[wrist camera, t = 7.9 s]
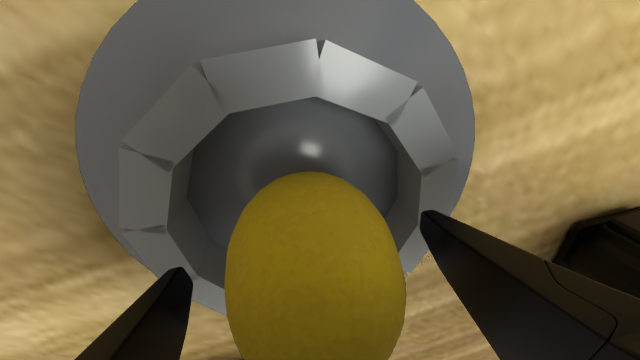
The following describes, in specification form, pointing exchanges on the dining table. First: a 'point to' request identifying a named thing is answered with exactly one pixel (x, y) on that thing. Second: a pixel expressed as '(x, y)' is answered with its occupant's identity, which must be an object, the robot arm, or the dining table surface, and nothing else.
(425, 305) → the dining table surface
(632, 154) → the dining table surface
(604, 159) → the dining table surface
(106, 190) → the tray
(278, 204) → the lemon
